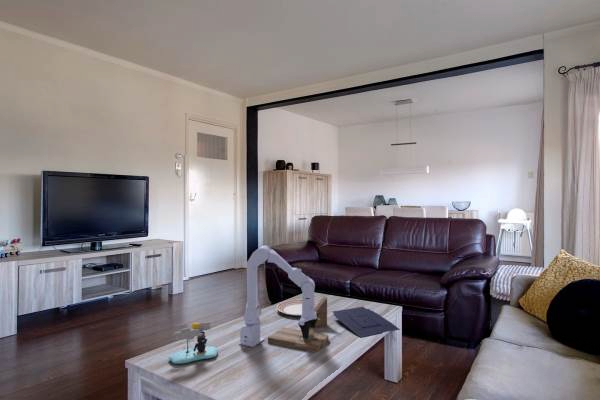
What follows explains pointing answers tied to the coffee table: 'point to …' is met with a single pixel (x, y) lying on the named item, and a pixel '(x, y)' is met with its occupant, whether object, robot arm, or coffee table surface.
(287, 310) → the dinner plate
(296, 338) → the board
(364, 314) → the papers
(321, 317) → the wooden block
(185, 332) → the penguin figurine
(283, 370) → the coffee table surface
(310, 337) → the beige cylinder
